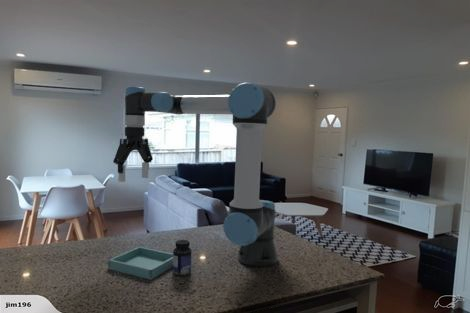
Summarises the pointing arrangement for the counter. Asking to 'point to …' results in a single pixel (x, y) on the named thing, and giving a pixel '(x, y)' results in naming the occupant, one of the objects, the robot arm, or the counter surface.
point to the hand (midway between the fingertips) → (133, 179)
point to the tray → (142, 262)
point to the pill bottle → (182, 258)
